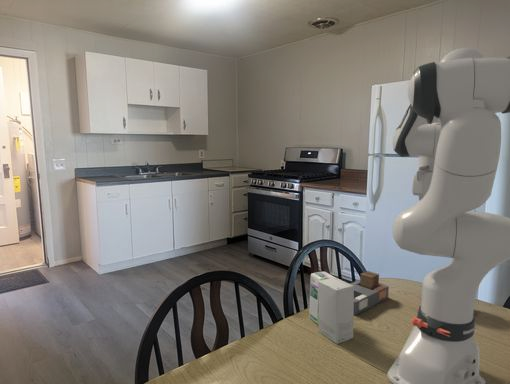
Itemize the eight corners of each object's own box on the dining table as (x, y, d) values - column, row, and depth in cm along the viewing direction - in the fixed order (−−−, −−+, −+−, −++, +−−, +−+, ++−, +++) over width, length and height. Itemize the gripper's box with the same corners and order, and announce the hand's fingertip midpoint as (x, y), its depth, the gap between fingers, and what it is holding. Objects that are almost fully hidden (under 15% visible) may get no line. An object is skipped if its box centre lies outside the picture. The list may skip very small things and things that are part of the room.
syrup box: (308, 317, 112) (309, 273, 109) (323, 313, 114) (325, 270, 112) (319, 326, 106) (320, 279, 104) (335, 322, 109) (336, 276, 107)
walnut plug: (370, 299, 123) (372, 277, 122) (359, 295, 127) (360, 273, 125) (377, 295, 126) (379, 274, 125) (366, 291, 129) (367, 270, 128)
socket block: (355, 316, 112) (356, 302, 112) (329, 304, 120) (329, 291, 120) (388, 298, 125) (389, 285, 125) (363, 289, 133) (363, 277, 132)
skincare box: (353, 339, 99) (356, 286, 97) (335, 345, 96) (337, 290, 94) (333, 325, 107) (335, 275, 105) (316, 331, 104) (317, 279, 101)
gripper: (428, 167, 108) (425, 211, 110) (455, 164, 121) (452, 204, 123) (408, 166, 113) (405, 208, 115) (436, 163, 126) (433, 202, 128)
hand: (430, 206), depth 119 cm, fingers open, 8 cm apart
